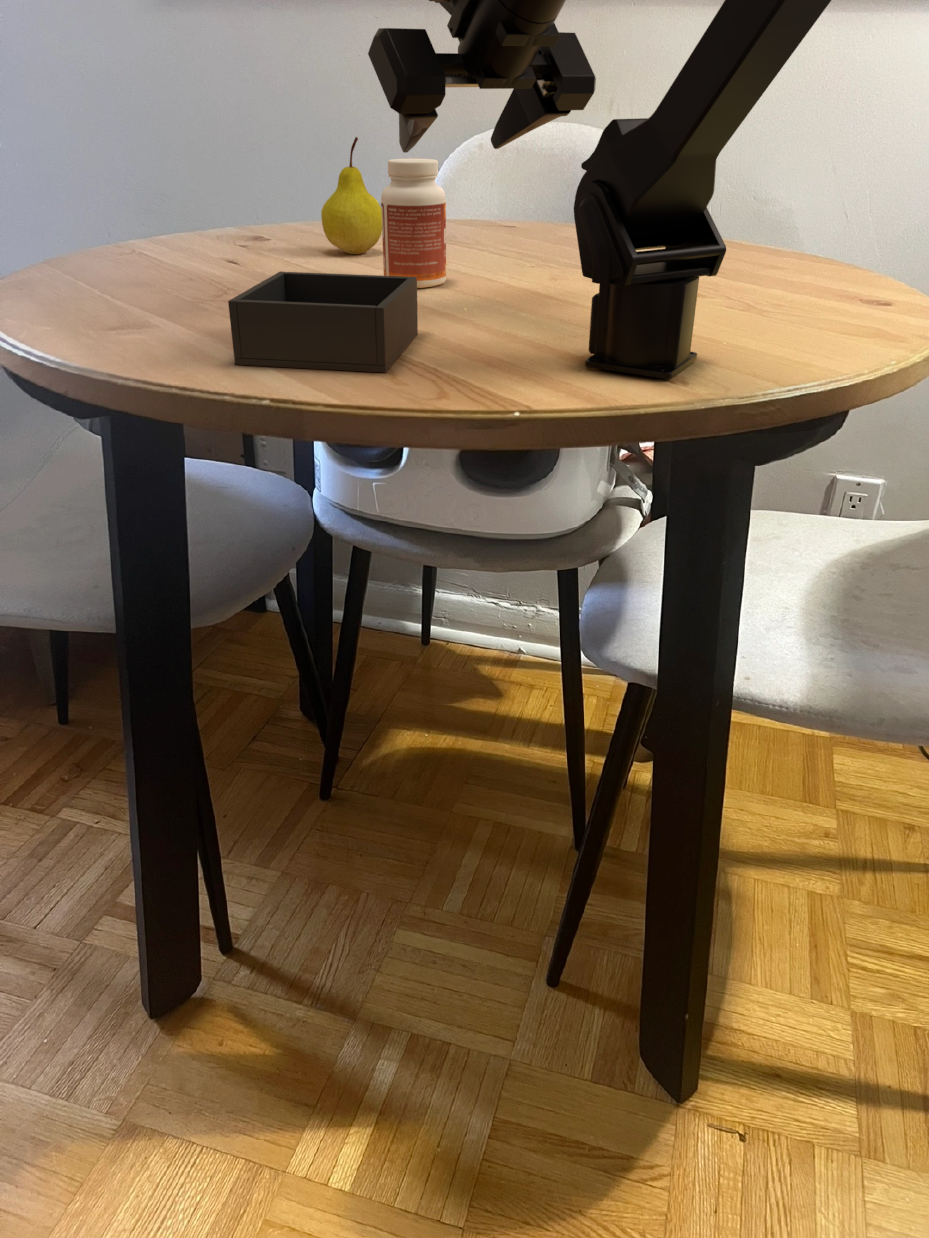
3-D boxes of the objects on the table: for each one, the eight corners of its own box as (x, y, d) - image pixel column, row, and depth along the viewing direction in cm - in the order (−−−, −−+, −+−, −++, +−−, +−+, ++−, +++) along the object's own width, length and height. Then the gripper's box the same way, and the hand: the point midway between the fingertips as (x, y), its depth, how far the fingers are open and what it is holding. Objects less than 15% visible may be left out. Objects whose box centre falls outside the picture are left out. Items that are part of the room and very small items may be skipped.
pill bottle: (458, 285, 97) (459, 161, 92) (404, 292, 94) (401, 164, 89) (425, 275, 102) (424, 156, 96) (372, 281, 99) (368, 158, 93)
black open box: (417, 335, 80) (417, 277, 77) (385, 373, 70) (383, 307, 68) (284, 328, 81) (279, 271, 79) (234, 364, 72) (227, 300, 69)
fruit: (315, 250, 114) (308, 134, 108) (370, 246, 117) (366, 133, 111) (336, 260, 109) (329, 139, 103) (393, 255, 111) (390, 137, 105)
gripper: (585, -85, 79) (505, 71, 92) (374, -105, 70) (320, 70, 84) (639, 29, 77) (549, 171, 90) (429, 23, 68) (365, 181, 82)
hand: (449, 146), depth 87 cm, fingers open, 9 cm apart
